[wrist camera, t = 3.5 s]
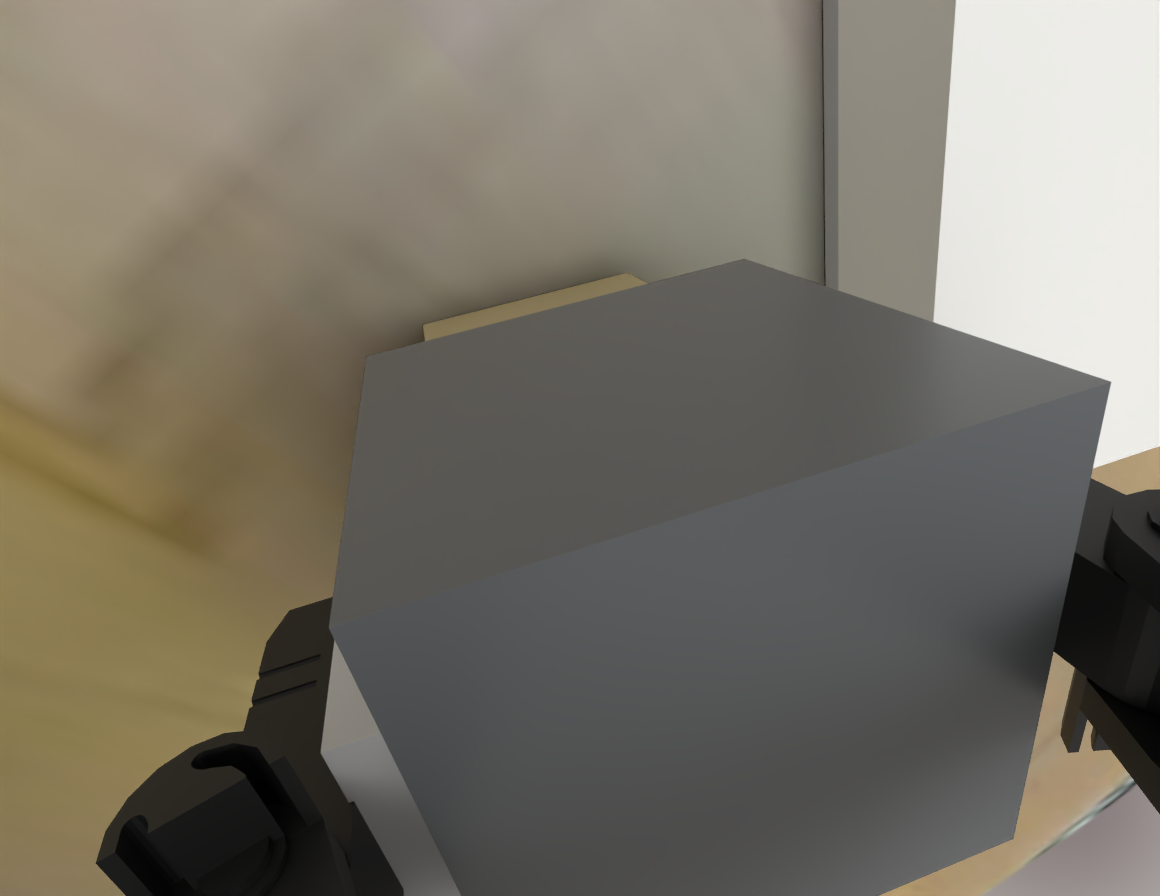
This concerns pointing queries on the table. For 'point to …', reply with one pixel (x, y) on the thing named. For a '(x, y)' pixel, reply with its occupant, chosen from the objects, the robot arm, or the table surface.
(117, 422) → the table surface
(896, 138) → the socket plate
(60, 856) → the table surface
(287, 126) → the table surface
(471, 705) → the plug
